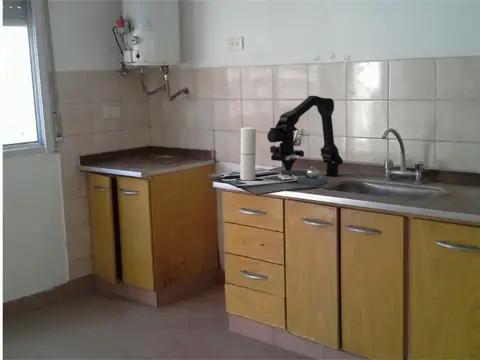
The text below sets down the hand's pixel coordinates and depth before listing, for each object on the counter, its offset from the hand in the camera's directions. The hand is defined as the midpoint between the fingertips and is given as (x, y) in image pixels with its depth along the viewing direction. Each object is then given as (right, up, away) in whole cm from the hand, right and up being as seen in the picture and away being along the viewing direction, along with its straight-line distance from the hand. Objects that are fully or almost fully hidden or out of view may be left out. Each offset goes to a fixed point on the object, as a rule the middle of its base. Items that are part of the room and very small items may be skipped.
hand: (287, 173), depth 275 cm
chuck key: (+3, -1, +18) cm, 18 cm away
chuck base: (+11, -5, -3) cm, 12 cm away
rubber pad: (-4, -3, +9) cm, 10 cm away
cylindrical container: (-19, -3, +7) cm, 21 cm away
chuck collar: (+5, -1, -3) cm, 6 cm away
